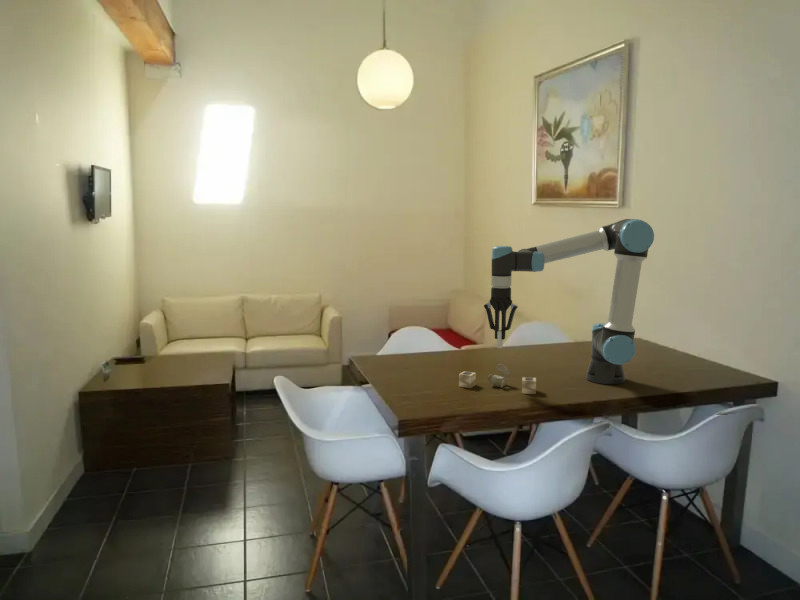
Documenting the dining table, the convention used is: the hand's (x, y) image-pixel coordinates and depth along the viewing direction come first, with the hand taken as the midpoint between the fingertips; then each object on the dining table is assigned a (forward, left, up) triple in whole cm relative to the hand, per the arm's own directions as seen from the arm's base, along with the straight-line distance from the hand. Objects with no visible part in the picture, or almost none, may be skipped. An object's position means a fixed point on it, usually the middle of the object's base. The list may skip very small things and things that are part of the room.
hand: (499, 347), depth 240 cm
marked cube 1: (+12, +3, -16) cm, 20 cm away
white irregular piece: (0, 0, -16) cm, 16 cm away
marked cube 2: (-12, +3, -16) cm, 20 cm away
